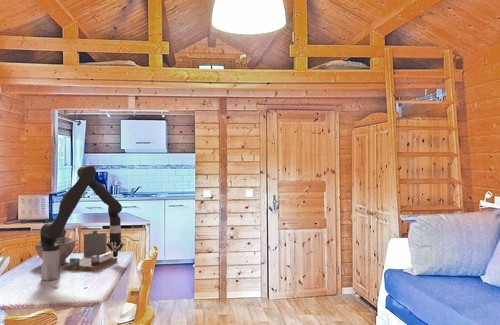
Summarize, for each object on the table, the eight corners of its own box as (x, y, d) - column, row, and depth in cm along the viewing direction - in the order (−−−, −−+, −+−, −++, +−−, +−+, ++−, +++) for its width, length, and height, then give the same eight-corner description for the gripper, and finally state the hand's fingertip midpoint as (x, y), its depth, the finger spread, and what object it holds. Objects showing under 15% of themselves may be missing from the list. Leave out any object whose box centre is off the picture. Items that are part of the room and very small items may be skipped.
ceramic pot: (81, 263, 276) (80, 228, 276) (43, 270, 258) (42, 233, 258) (66, 257, 293) (66, 225, 293) (29, 264, 275) (29, 229, 275)
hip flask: (107, 255, 298) (106, 229, 298) (106, 256, 294) (106, 229, 294) (84, 257, 294) (83, 230, 294) (83, 258, 290) (83, 231, 290)
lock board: (117, 262, 278) (116, 251, 278) (94, 271, 254) (94, 260, 254) (88, 260, 284) (87, 250, 284) (63, 269, 260) (63, 258, 260)
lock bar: (96, 265, 257) (96, 257, 257) (89, 264, 258) (89, 256, 258) (114, 257, 277) (114, 250, 277) (108, 257, 278) (108, 250, 278)
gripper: (103, 232, 271) (103, 257, 271) (120, 233, 268) (120, 258, 268) (110, 230, 278) (110, 255, 278) (126, 231, 275) (127, 256, 275)
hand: (115, 257), depth 273 cm, fingers closed
